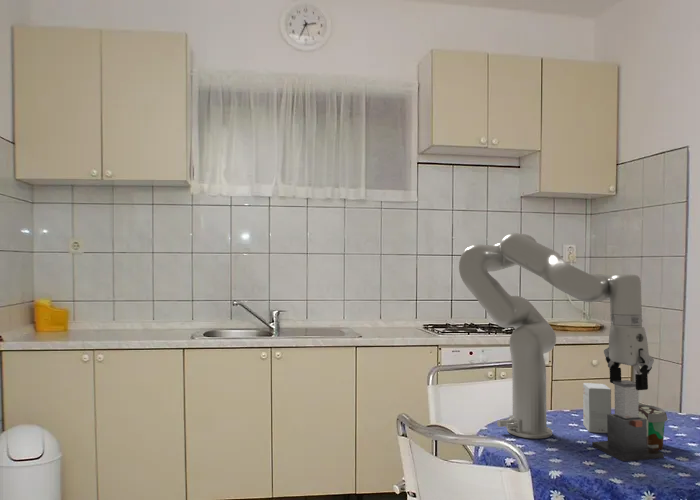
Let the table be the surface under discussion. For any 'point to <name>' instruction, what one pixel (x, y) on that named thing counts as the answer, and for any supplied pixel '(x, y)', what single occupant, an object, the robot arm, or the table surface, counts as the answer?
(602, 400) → the small box
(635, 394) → the column
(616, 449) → the stand
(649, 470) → the table surface
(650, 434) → the food container
